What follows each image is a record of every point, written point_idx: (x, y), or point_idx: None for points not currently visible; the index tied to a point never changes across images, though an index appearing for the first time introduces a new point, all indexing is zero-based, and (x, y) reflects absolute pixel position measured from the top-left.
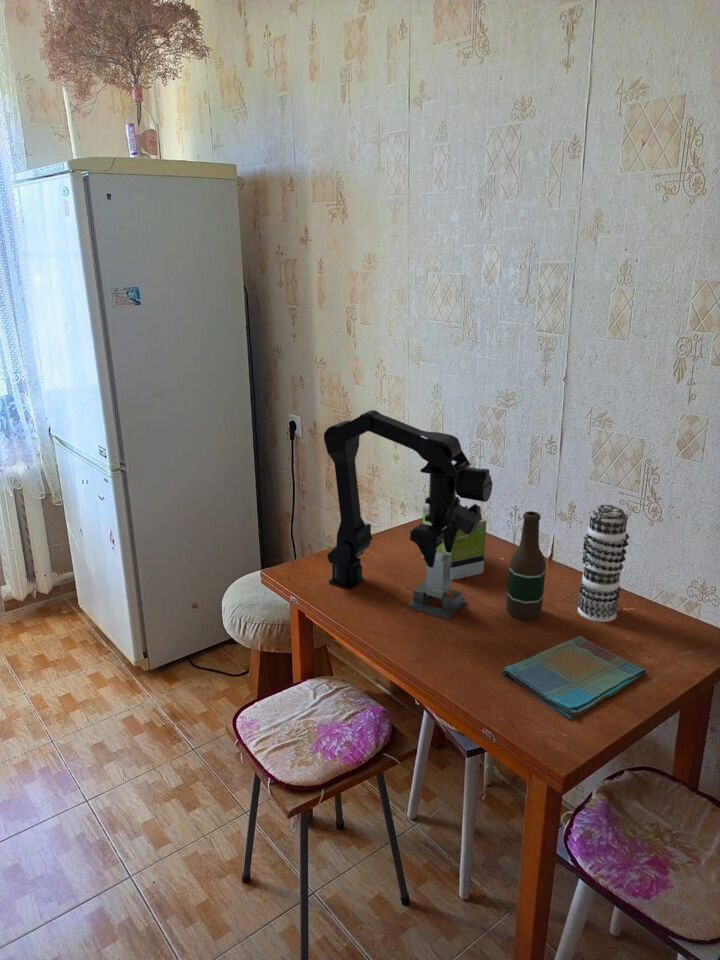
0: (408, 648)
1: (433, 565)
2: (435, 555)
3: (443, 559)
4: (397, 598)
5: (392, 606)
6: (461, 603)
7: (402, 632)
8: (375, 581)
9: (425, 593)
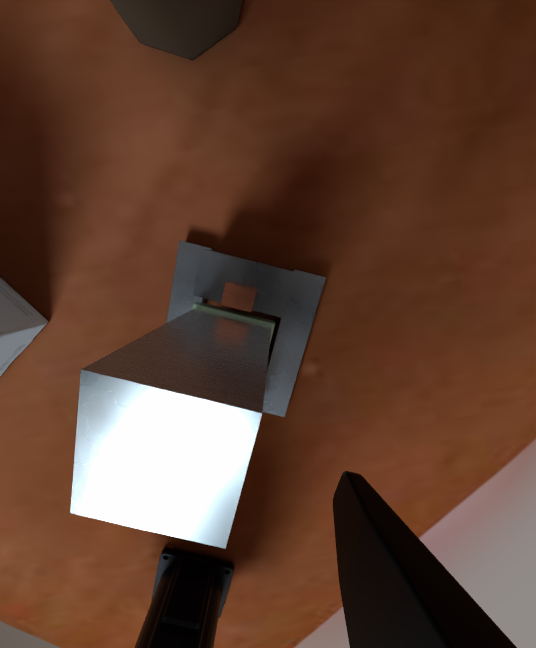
0: (526, 359)
1: (356, 481)
2: (438, 618)
3: (199, 423)
4: None
5: (288, 450)
6: (213, 250)
7: (434, 394)
8: None
9: None
